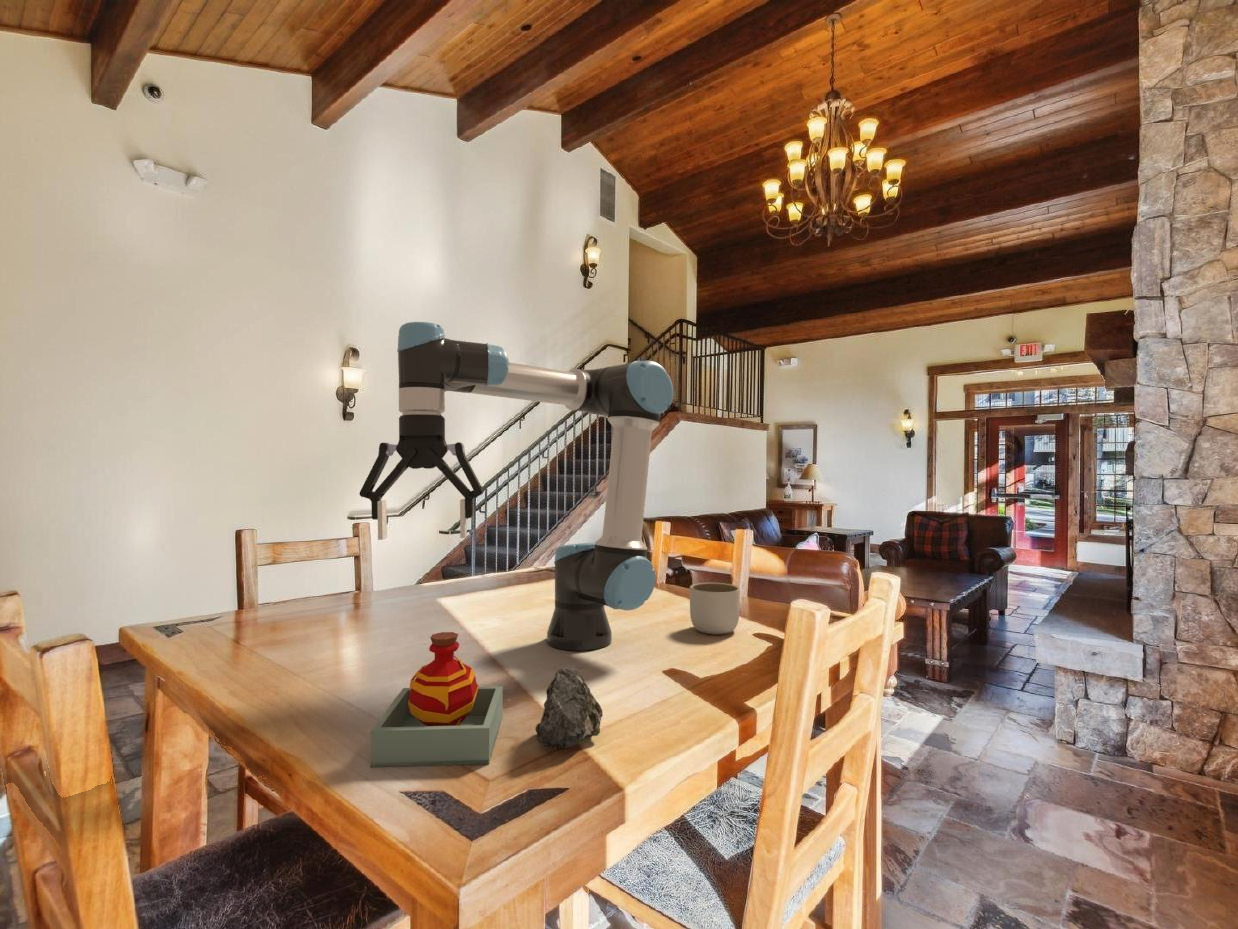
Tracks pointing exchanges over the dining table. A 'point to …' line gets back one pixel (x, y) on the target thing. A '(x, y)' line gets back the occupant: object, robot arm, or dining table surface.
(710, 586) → the planter
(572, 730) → the rock
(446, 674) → the potion bottle
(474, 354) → the robot arm
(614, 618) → the dining table surface
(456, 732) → the bin
